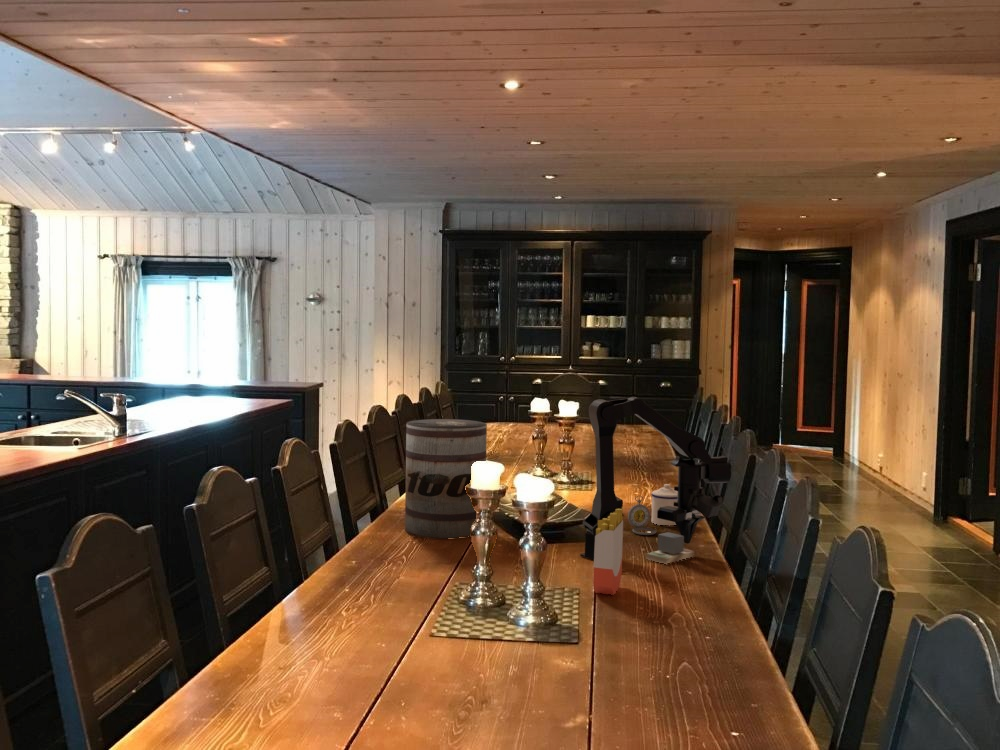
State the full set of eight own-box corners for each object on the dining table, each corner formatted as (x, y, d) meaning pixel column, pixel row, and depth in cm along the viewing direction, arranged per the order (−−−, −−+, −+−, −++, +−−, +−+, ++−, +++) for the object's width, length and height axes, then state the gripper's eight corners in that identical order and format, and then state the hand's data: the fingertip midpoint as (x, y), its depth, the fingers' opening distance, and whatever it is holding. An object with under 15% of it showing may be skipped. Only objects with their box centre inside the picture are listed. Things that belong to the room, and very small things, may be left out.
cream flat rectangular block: (664, 564, 217) (665, 558, 217) (645, 559, 222) (645, 553, 221) (694, 556, 225) (694, 550, 225) (675, 551, 229) (675, 545, 229)
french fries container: (591, 596, 191) (593, 514, 190) (601, 582, 201) (603, 504, 200) (612, 598, 190) (614, 516, 188) (621, 584, 200) (623, 506, 199)
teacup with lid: (682, 527, 257) (683, 488, 256) (650, 525, 258) (651, 486, 258) (680, 518, 269) (682, 480, 268) (650, 516, 270) (651, 479, 270)
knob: (673, 554, 220) (674, 538, 220) (657, 549, 224) (658, 534, 223) (683, 551, 223) (683, 536, 222) (667, 547, 226) (668, 532, 226)
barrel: (423, 542, 234) (425, 430, 232) (392, 524, 253) (394, 420, 252) (498, 534, 244) (501, 426, 242) (463, 517, 264) (465, 417, 262)
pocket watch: (649, 537, 244) (650, 501, 244) (622, 532, 250) (623, 497, 249) (662, 532, 251) (664, 497, 250) (636, 527, 256) (637, 493, 255)
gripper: (693, 492, 214) (690, 555, 215) (737, 484, 227) (734, 544, 228) (656, 485, 223) (654, 546, 224) (700, 477, 235) (698, 535, 236)
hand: (687, 543), depth 228 cm, fingers closed
